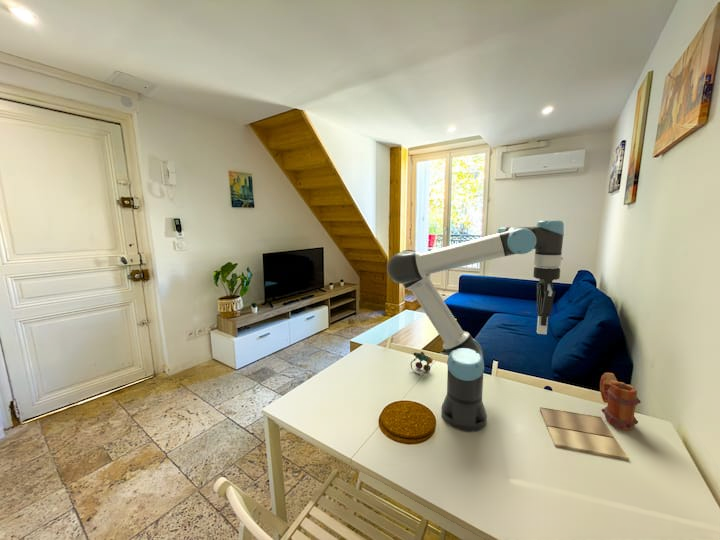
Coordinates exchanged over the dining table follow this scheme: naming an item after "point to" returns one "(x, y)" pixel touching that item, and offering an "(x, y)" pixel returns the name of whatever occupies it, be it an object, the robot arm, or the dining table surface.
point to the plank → (575, 422)
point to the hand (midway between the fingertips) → (541, 333)
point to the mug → (618, 402)
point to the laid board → (587, 443)
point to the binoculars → (421, 358)
